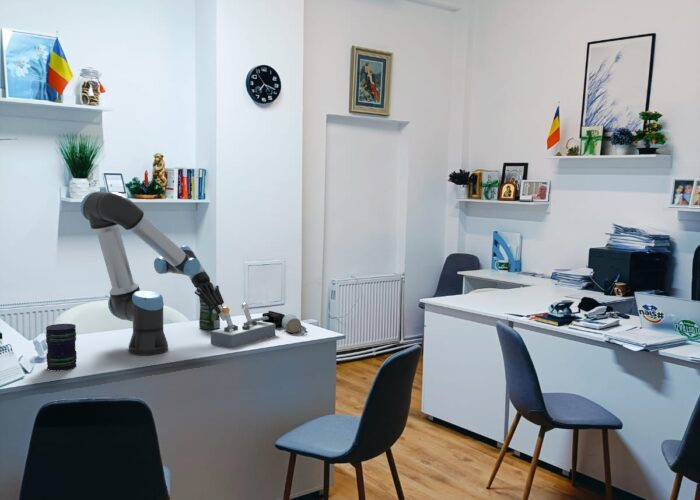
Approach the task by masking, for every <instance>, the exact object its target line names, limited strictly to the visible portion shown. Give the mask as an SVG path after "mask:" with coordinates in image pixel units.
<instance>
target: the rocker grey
mask: <svg viewBox="0 0 700 500" xmlns="http://www.w3.org/2000/svg"><path fill="white" fill-rule="evenodd" d="M251 319H252V320H254V321H263V320H267V319H269V318H268V317H267V316H265V317H262V316H261V317H257V318H251Z"/></svg>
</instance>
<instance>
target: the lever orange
mask: <svg viewBox="0 0 700 500" xmlns="http://www.w3.org/2000/svg"><path fill="white" fill-rule="evenodd" d="M222 313H223V314H224V315H225V318H226V320H225V322H226V325H227V326H226V327H227V328H230V330H232V329H235V328H236V326H235V325H236V324H233V323H234V322H233V321H232V318H231V315H230V308H229V307H228V306H223V309H222Z"/></svg>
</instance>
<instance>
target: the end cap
mask: <svg viewBox="0 0 700 500" xmlns="http://www.w3.org/2000/svg"><path fill="white" fill-rule="evenodd" d="M265 316H267V317H268V318H269V319H267V320H263V321H262V322H267V323H273V324H275V329H279V328H283V326H282V320H283V318H284V316H286V315H285V314H284V313H281V312H276V311H273V310H268V312H264V313H262V316H261V317H265Z"/></svg>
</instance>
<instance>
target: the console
mask: <svg viewBox="0 0 700 500" xmlns="http://www.w3.org/2000/svg"><path fill="white" fill-rule="evenodd" d="M254 322H255V323H254V324H252V325H249V323H246V322H243V323H238V324H234V325H235V326H236V328H235V329H232V330H230V328H227V326H225V327H223V328H218V329H216V330H210V344H213V345H217V346H223V347H226V348H234V347H239V346H242V345H245V344H249V343H253V342H256V341H260V340H263V339H266V338H270V337H273V336H276V328H275V324H273V323H267V322H262V321H254Z"/></svg>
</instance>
